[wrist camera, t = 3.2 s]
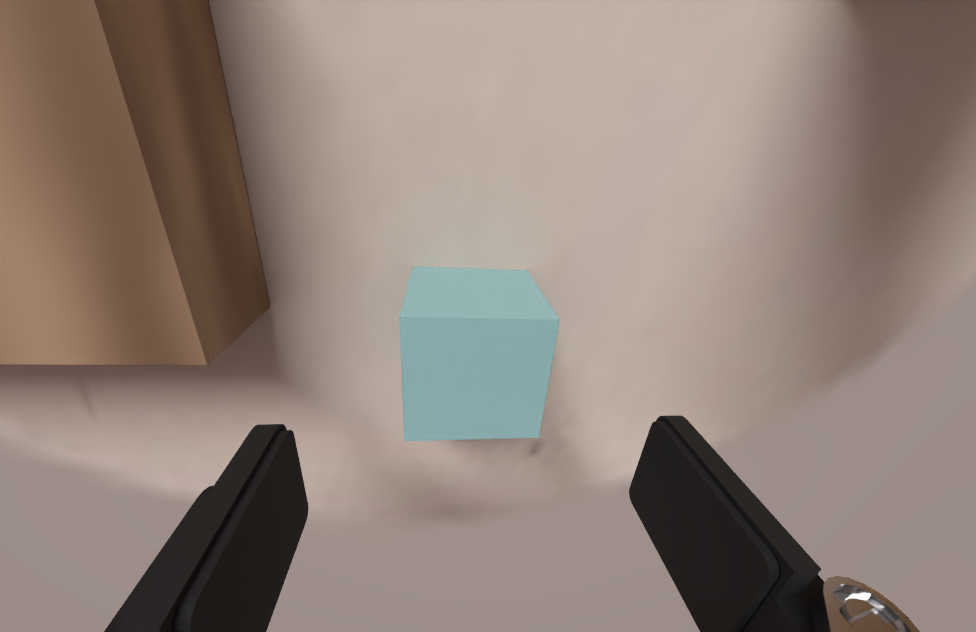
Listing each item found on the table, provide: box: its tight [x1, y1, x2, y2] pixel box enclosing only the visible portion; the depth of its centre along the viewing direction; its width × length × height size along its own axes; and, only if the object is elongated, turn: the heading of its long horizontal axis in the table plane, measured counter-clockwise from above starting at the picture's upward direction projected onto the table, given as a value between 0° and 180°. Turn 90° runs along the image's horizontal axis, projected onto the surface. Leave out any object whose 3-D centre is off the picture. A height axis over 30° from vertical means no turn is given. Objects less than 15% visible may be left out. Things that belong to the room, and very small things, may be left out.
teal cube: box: [400, 266, 560, 441], centre depth 14 cm, size 5×5×5 cm
